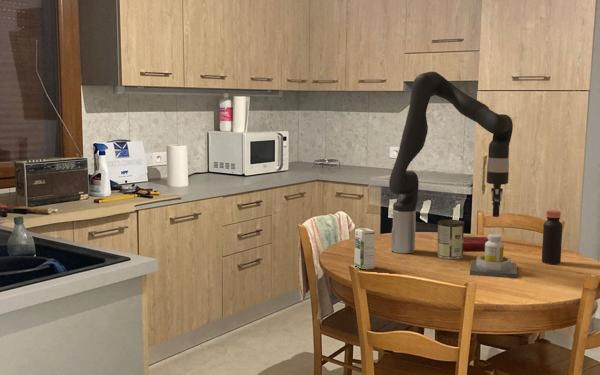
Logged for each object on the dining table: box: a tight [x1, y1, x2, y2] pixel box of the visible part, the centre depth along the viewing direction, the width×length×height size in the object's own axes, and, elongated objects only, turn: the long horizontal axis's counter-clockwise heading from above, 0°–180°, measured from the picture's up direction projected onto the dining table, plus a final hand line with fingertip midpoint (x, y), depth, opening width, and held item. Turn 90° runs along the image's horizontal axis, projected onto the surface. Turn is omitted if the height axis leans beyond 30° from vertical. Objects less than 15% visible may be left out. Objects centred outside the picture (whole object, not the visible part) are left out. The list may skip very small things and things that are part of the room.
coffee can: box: [436, 218, 465, 260], centre depth 256 cm, size 10×10×14 cm
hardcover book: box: [463, 236, 489, 252], centre depth 271 cm, size 12×21×4 cm, turn 89°
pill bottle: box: [484, 233, 505, 262], centre depth 234 cm, size 6×6×12 cm
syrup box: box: [353, 227, 376, 270], centre depth 238 cm, size 6×6×14 cm
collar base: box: [469, 254, 518, 279], centre depth 234 cm, size 16×16×4 cm
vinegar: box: [541, 209, 563, 265], centre depth 245 cm, size 7×7×20 cm
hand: (495, 214), depth 232 cm, fingers open, 8 cm apart
